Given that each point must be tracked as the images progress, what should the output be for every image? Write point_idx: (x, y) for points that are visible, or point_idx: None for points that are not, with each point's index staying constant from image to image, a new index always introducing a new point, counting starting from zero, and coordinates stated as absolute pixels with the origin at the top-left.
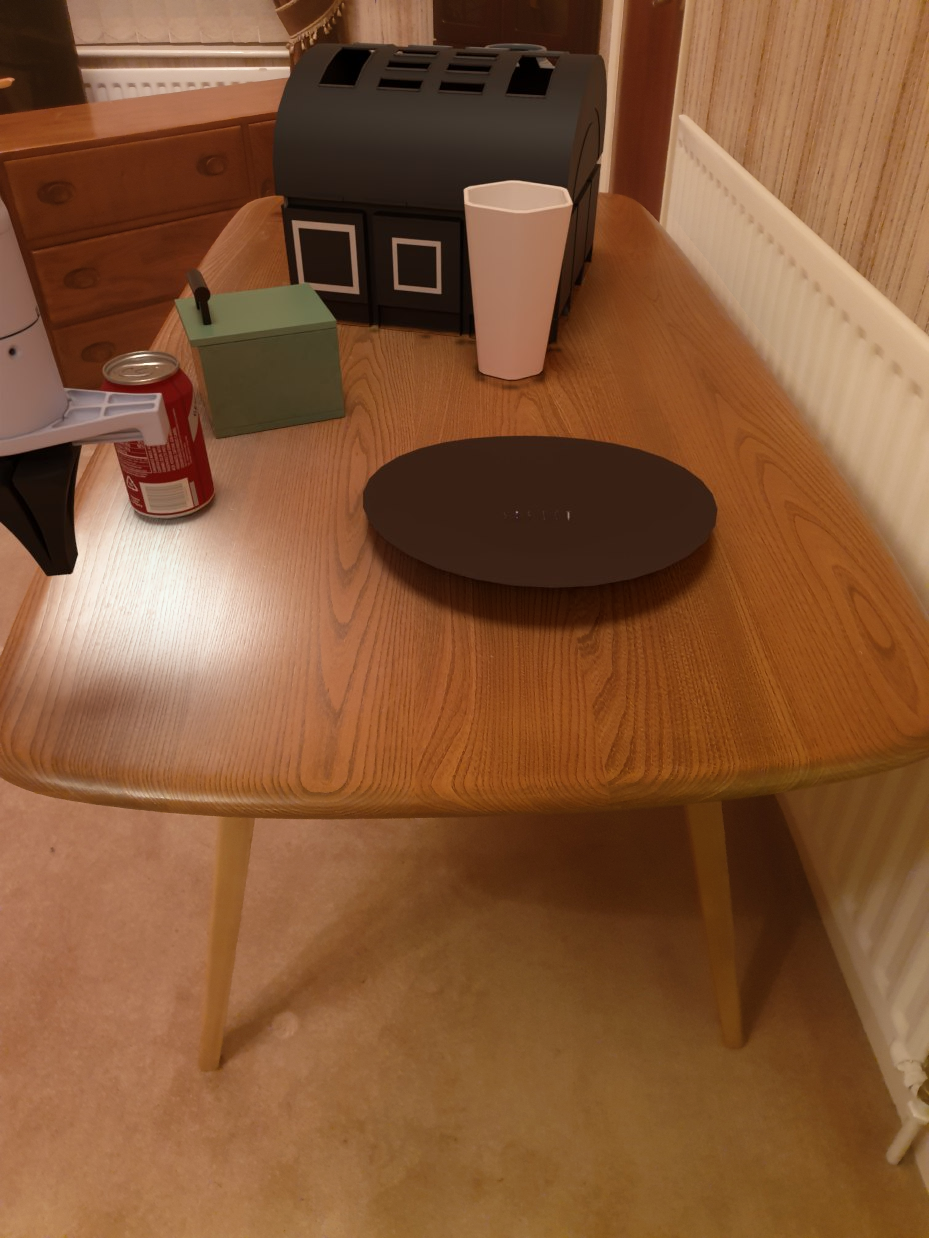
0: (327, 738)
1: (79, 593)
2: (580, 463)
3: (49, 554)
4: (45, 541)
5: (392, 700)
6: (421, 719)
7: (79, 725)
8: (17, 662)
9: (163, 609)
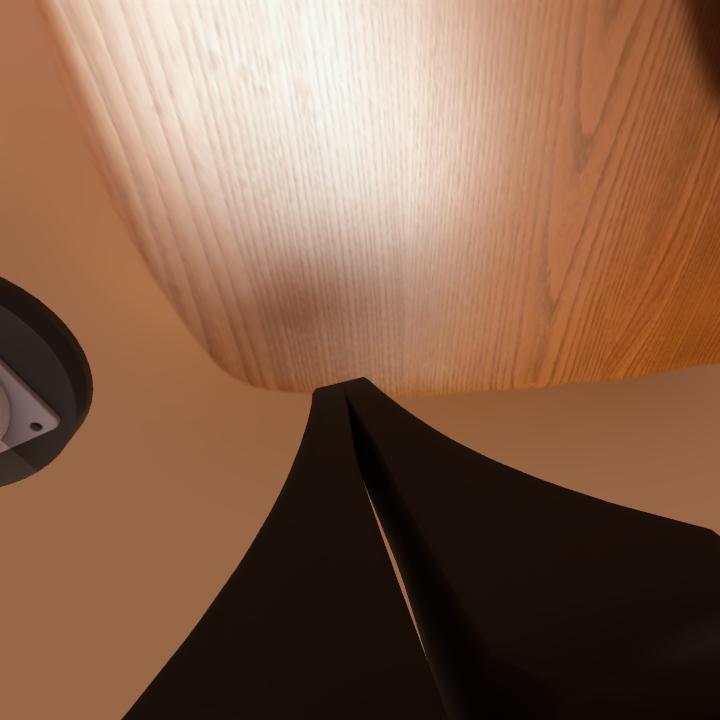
0: (540, 338)
1: (128, 5)
2: None
3: (373, 505)
4: (387, 539)
5: (607, 284)
6: (624, 308)
7: (287, 342)
8: (133, 231)
9: (321, 81)
